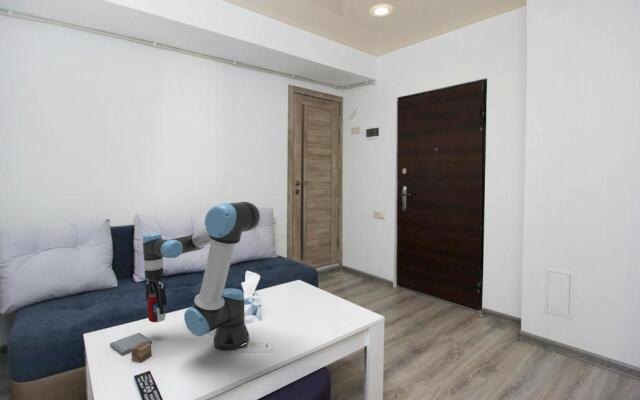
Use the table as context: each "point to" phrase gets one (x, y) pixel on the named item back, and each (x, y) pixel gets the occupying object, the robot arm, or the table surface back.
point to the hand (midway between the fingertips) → (157, 318)
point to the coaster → (129, 343)
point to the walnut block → (141, 352)
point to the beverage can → (153, 308)
